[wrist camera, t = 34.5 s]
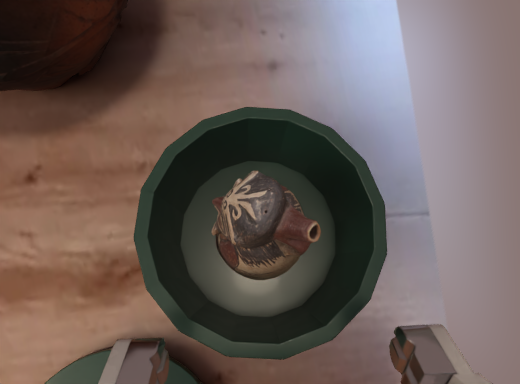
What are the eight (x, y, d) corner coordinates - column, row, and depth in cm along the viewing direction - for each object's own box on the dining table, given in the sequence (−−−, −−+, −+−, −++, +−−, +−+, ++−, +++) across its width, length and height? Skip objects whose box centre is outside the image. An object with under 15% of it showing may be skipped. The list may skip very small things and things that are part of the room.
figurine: (248, 178, 26) (245, 109, 14) (317, 222, 25) (373, 186, 14) (201, 247, 25) (155, 231, 13) (272, 296, 24) (293, 326, 12)
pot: (366, 196, 27) (419, 166, 18) (302, 359, 23) (330, 411, 15) (222, 130, 28) (210, 73, 19) (141, 276, 24) (84, 282, 16)
